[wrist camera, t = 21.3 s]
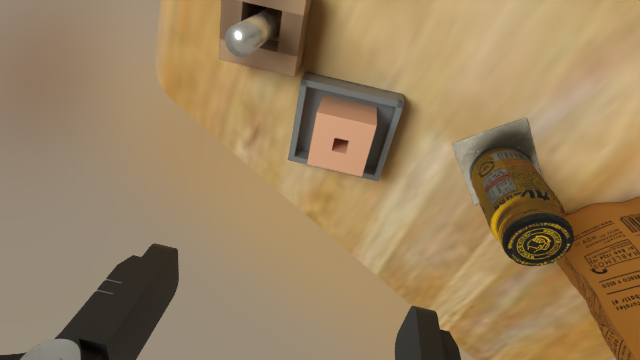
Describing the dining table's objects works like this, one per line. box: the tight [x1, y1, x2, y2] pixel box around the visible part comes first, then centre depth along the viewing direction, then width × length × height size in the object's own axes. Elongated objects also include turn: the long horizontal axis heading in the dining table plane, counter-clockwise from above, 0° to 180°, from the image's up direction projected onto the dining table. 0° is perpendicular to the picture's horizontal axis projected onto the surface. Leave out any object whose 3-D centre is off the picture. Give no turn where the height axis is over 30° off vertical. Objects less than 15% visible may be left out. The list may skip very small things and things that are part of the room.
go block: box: [219, 0, 312, 77], centre depth 33 cm, size 7×7×4 cm
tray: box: [288, 72, 405, 181], centre depth 38 cm, size 10×9×2 cm
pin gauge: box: [225, 8, 282, 57], centre depth 30 cm, size 2×2×10 cm
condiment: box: [452, 118, 574, 266], centre depth 34 cm, size 7×8×12 cm
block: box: [307, 95, 377, 177], centre depth 36 cm, size 6×6×5 cm
